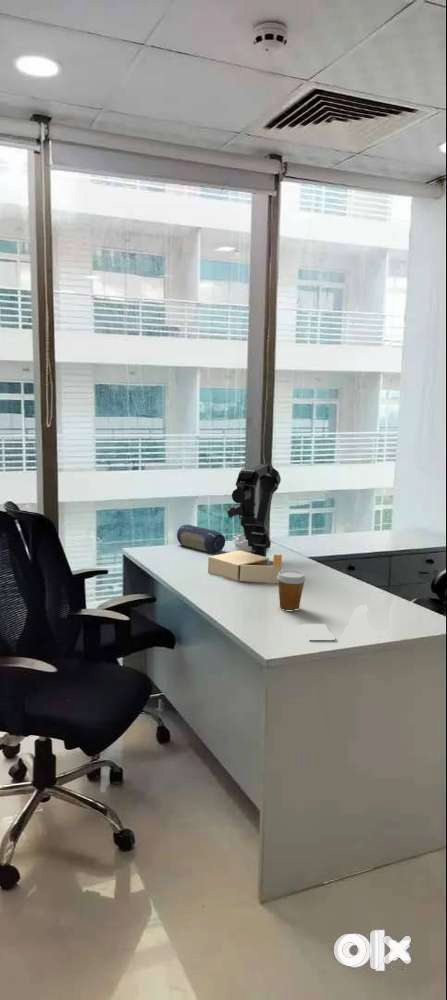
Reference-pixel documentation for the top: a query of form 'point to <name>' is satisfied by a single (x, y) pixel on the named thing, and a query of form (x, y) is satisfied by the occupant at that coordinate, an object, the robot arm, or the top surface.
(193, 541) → the portable speaker
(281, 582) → the disposable coffee cup
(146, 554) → the top surface
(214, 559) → the carton
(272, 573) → the carton flap
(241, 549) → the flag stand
